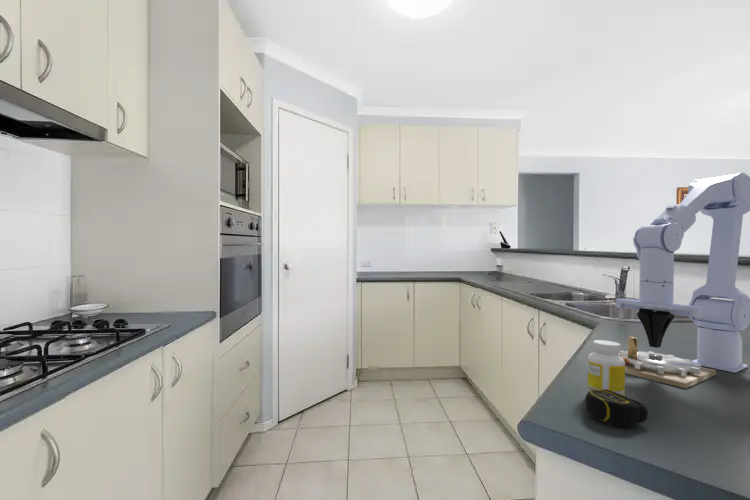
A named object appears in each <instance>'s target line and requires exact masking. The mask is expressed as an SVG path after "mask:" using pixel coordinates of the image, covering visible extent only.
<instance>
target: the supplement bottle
mask: <svg viewBox="0 0 750 500" xmlns="http://www.w3.org/2000/svg"><path fill="white" fill-rule="evenodd" d="M592 350H594V351H593V352H591V353H589V355H588V357H587V359H588V360H587V394H588V393H589V391H591V390H605V389H607V390H610V391H613V392H615V393H618V394H621V395H624V396H626V395H625V394H626V393H625V392H626V391H625V389H626V373H625V361H624V359H623V358H622V357H620V356H619V355H618V353H620V351H621V344H620V343H619V342H616V341H612V340H611V341H610V340H602V339H595V340H593V341H592Z"/></svg>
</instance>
